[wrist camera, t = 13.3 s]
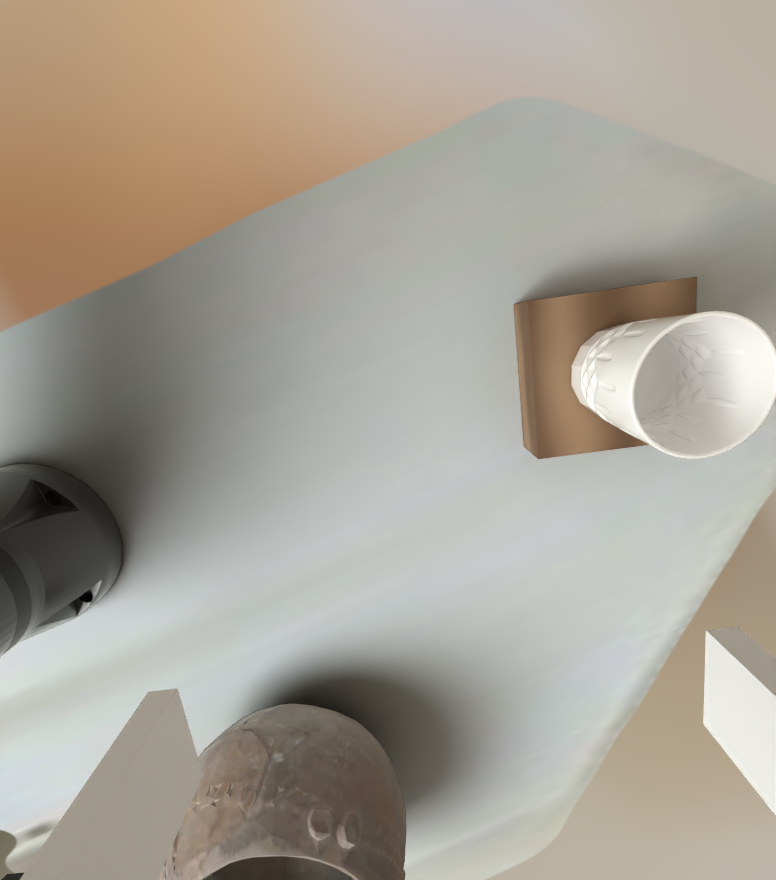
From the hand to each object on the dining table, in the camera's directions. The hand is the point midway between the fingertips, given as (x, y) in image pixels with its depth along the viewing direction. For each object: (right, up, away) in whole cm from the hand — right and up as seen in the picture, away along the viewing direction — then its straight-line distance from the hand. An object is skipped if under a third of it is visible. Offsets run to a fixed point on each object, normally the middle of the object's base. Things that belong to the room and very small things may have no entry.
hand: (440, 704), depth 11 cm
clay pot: (-10, -26, +36) cm, 46 cm away
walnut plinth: (+16, +13, +26) cm, 33 cm away
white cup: (+16, +12, +23) cm, 30 cm away
